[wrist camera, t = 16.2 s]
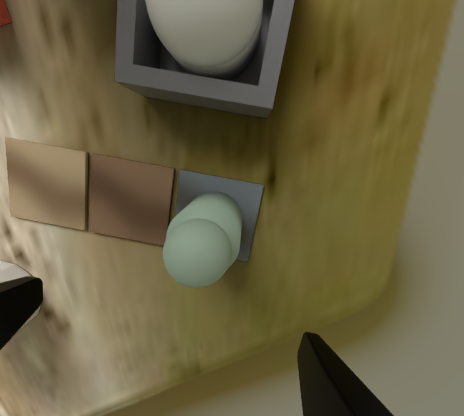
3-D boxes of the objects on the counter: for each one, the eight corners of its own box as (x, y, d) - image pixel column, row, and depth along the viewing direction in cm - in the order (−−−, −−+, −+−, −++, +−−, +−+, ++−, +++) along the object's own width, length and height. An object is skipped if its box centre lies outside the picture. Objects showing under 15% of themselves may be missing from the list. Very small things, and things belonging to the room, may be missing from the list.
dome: (173, -32, 14) (121, -157, 8) (269, -16, 14) (283, -133, 8) (164, 75, 16) (114, 31, 10) (250, 90, 16) (251, 54, 10)
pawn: (191, 186, 18) (146, 214, 10) (247, 196, 18) (245, 233, 10) (184, 238, 19) (139, 300, 11) (237, 248, 19) (228, 318, 11)
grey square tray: (156, -57, 15) (122, -132, 11) (297, -34, 14) (315, -102, 10) (145, 97, 17) (114, 81, 13) (267, 118, 17) (272, 108, 13)
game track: (8, 137, 18) (5, 137, 18) (263, 184, 18) (263, 185, 17) (14, 215, 20) (10, 216, 20) (247, 260, 19) (247, 261, 19)
